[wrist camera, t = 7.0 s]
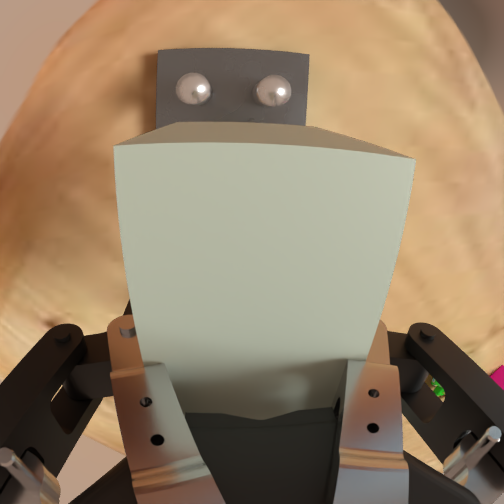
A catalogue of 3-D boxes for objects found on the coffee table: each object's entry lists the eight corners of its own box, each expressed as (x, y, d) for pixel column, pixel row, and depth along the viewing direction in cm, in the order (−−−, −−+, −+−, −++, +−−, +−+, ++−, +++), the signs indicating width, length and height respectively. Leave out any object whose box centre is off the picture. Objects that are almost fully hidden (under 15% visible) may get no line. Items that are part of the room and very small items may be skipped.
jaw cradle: (282, 321, 29) (293, 361, 24) (171, 321, 28) (163, 362, 23) (305, 56, 19) (327, 44, 15) (161, 53, 19) (144, 38, 14)
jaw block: (314, 126, 11) (416, 159, 5) (285, 369, 16) (310, 485, 10) (177, 122, 11) (113, 145, 4) (190, 370, 16) (182, 490, 10)
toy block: (474, 388, 40) (495, 419, 33) (501, 363, 38) (524, 393, 31) (484, 412, 45) (501, 437, 38) (507, 392, 44) (525, 416, 37)
